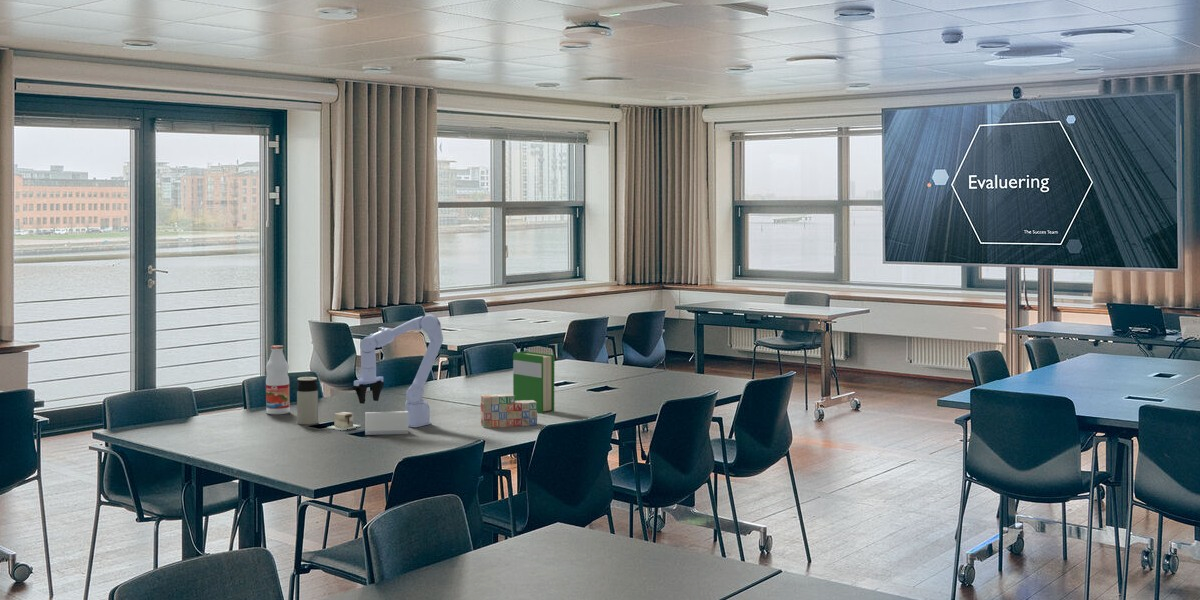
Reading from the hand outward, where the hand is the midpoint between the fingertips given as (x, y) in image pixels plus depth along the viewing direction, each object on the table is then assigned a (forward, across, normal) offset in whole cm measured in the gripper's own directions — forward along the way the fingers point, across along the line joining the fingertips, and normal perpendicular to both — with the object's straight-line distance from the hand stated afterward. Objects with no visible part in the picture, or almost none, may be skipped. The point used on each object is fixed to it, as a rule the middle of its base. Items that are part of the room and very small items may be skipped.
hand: (369, 402), depth 446 cm
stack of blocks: (+10, -31, +45) cm, 55 cm away
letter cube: (+9, +9, -5) cm, 13 cm away
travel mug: (+9, +10, -24) cm, 27 cm away
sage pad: (+9, +8, -5) cm, 14 cm away
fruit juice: (+9, -1, -52) cm, 53 cm away
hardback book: (+10, -65, +32) cm, 74 cm away
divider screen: (+9, +8, +16) cm, 20 cm away
